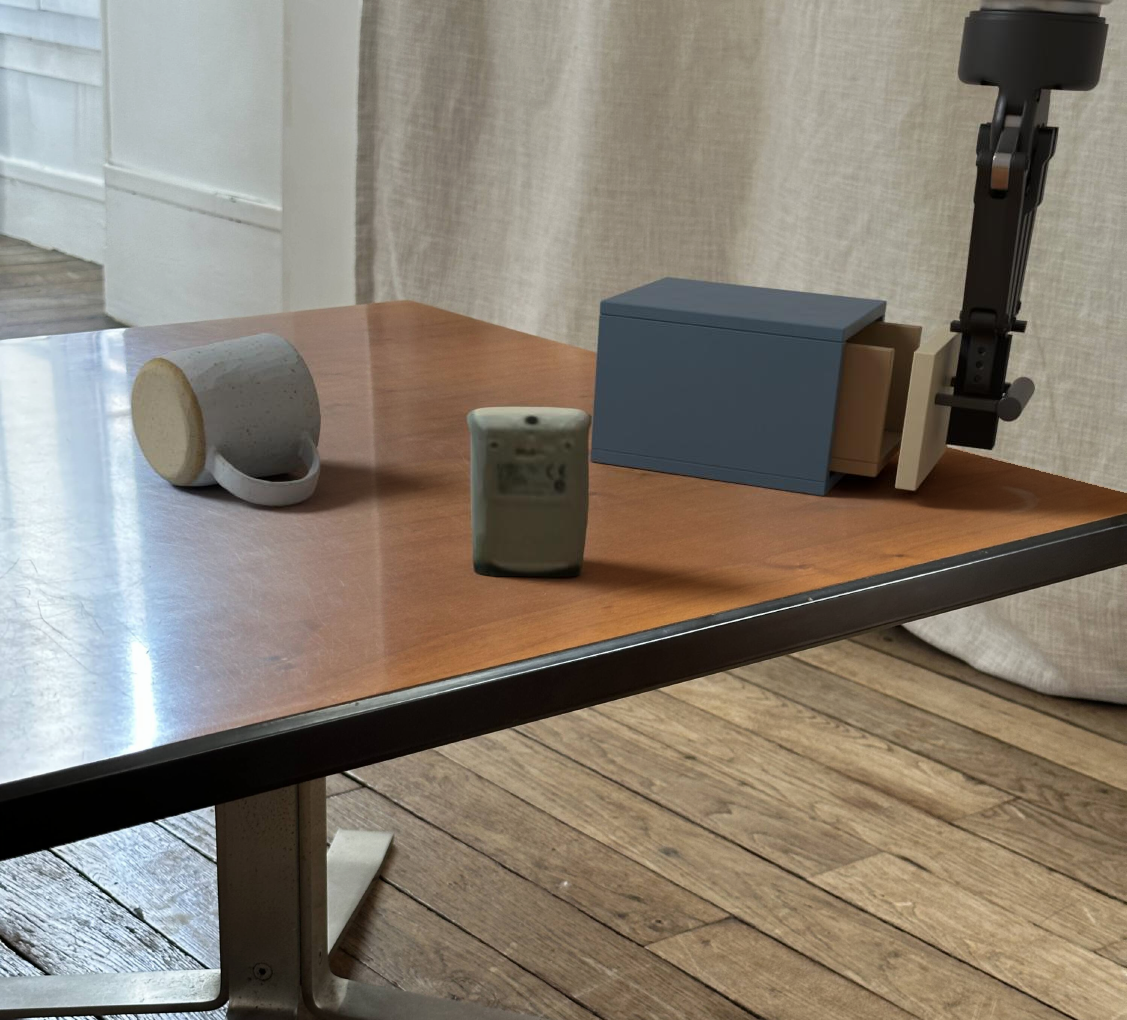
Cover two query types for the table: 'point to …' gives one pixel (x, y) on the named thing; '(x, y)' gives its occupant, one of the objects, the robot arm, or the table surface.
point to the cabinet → (724, 381)
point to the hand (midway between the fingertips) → (970, 444)
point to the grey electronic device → (529, 490)
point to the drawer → (904, 401)
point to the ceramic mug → (231, 418)
